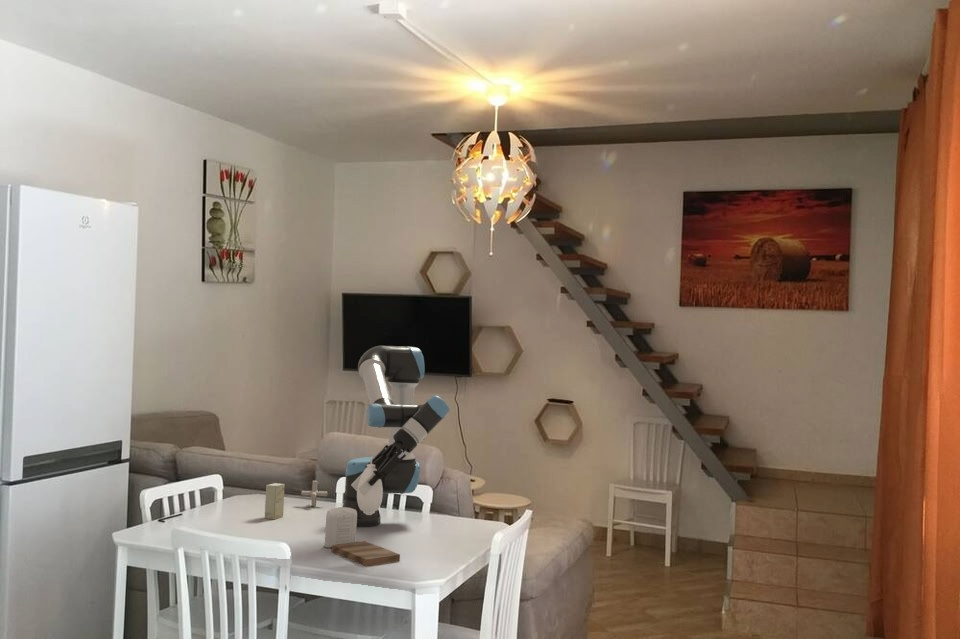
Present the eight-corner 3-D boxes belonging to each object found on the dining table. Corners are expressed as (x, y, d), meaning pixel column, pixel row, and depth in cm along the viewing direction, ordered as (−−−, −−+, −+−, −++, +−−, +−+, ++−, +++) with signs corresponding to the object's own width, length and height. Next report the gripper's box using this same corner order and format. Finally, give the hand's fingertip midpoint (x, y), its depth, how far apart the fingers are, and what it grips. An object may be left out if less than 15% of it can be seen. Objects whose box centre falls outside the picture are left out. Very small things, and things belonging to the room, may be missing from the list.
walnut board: (331, 551, 265) (331, 545, 265) (364, 547, 273) (364, 540, 273) (366, 566, 250) (366, 559, 250) (399, 561, 257) (400, 554, 257)
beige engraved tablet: (352, 543, 277) (354, 505, 277) (357, 546, 273) (359, 507, 274) (322, 545, 272) (324, 507, 272) (326, 548, 268) (328, 509, 269)
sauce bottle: (362, 511, 266) (365, 453, 267) (385, 513, 264) (388, 455, 265) (351, 515, 259) (354, 456, 260) (375, 518, 257) (377, 458, 257)
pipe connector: (302, 503, 339) (303, 478, 340) (327, 504, 340) (328, 479, 341) (299, 508, 329) (300, 482, 330) (325, 509, 330) (326, 483, 331)
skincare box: (274, 519, 307) (276, 486, 308) (263, 518, 309) (265, 484, 309) (283, 516, 313) (285, 483, 314) (273, 515, 315) (275, 482, 315)
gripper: (428, 448, 260) (375, 504, 252) (406, 440, 277) (355, 493, 270) (413, 430, 258) (359, 486, 250) (391, 424, 275) (340, 476, 268)
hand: (357, 489), depth 260 cm, fingers closed on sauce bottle, 6 cm apart
